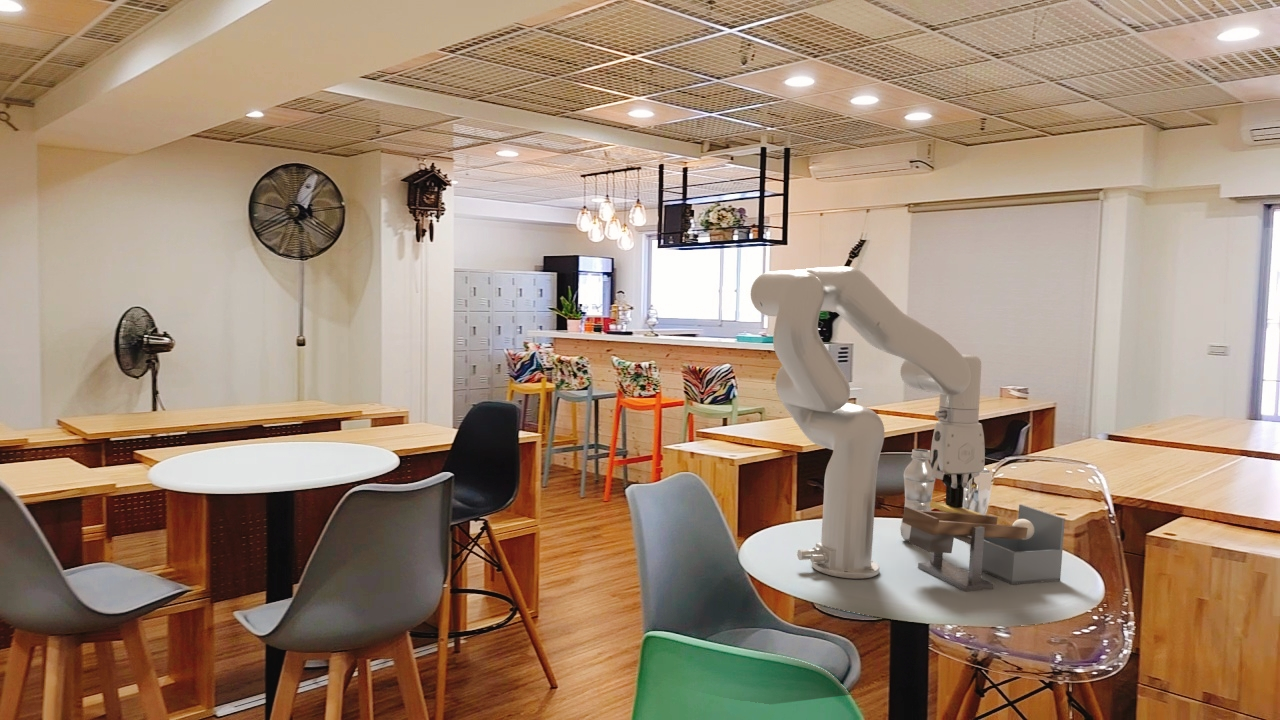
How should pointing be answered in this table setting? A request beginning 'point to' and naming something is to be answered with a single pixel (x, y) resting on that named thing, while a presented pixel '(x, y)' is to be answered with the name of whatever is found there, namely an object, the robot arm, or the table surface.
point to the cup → (1027, 551)
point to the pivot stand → (958, 575)
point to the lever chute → (953, 527)
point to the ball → (1026, 524)
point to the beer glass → (978, 493)
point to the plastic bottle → (917, 485)
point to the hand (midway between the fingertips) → (954, 505)
